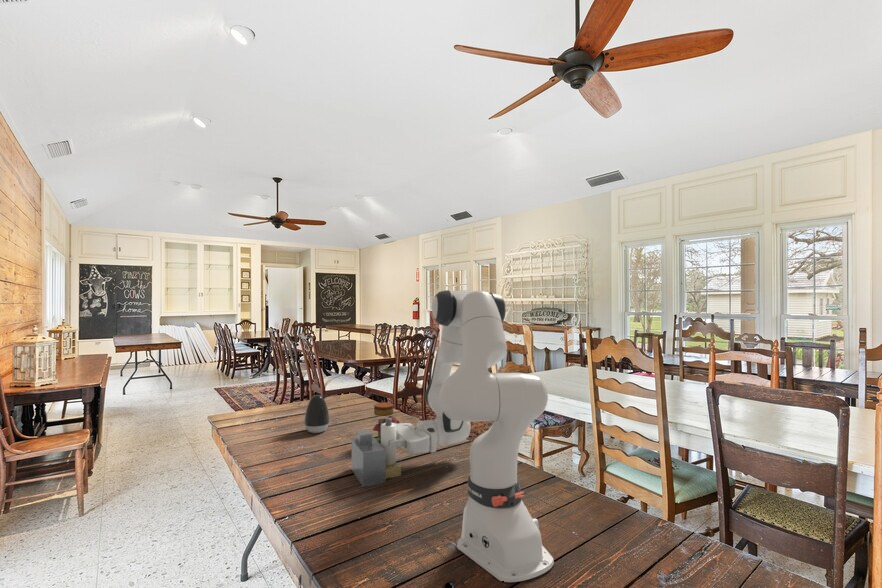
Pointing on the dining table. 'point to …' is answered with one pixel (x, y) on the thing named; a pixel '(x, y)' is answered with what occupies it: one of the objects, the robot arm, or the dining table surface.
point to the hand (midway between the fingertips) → (385, 440)
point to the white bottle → (388, 434)
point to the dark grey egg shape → (317, 415)
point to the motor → (370, 460)
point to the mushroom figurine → (383, 410)
